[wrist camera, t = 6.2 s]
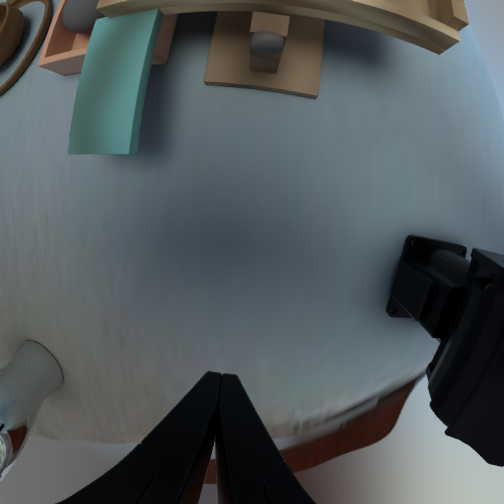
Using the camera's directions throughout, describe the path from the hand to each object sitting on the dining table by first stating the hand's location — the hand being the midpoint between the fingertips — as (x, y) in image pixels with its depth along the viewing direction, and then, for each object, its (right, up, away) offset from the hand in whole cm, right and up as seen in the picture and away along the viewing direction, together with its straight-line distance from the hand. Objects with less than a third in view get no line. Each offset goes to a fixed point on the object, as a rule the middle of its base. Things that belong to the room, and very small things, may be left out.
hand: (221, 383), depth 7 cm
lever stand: (+2, +20, +7) cm, 21 cm away
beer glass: (-22, -8, +15) cm, 28 cm away
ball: (-10, +20, +4) cm, 23 cm away
